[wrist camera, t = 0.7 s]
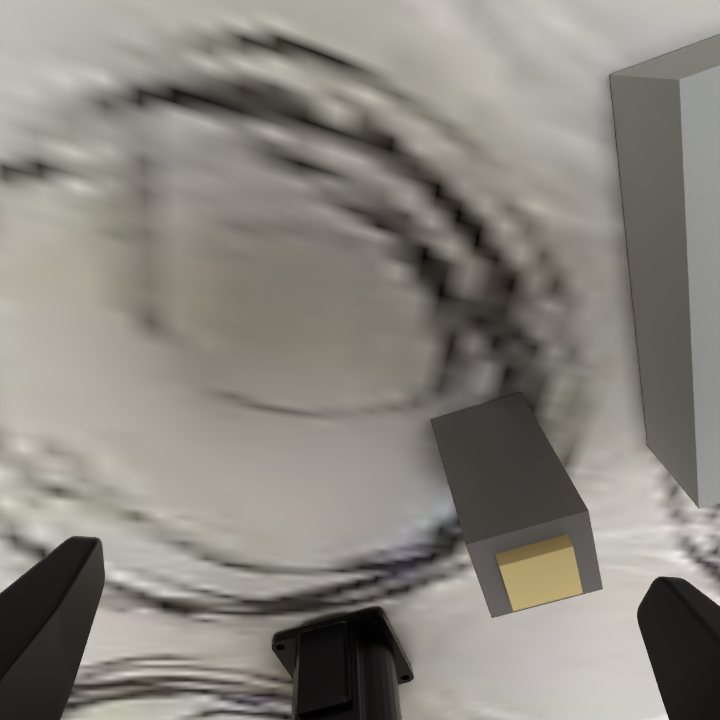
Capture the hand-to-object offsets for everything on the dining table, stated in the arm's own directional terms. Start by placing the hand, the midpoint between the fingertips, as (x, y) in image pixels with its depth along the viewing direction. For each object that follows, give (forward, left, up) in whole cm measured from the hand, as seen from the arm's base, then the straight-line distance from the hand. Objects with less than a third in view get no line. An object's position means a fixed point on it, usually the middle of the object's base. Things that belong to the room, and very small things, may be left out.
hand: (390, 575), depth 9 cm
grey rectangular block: (-9, -3, -14) cm, 17 cm away
